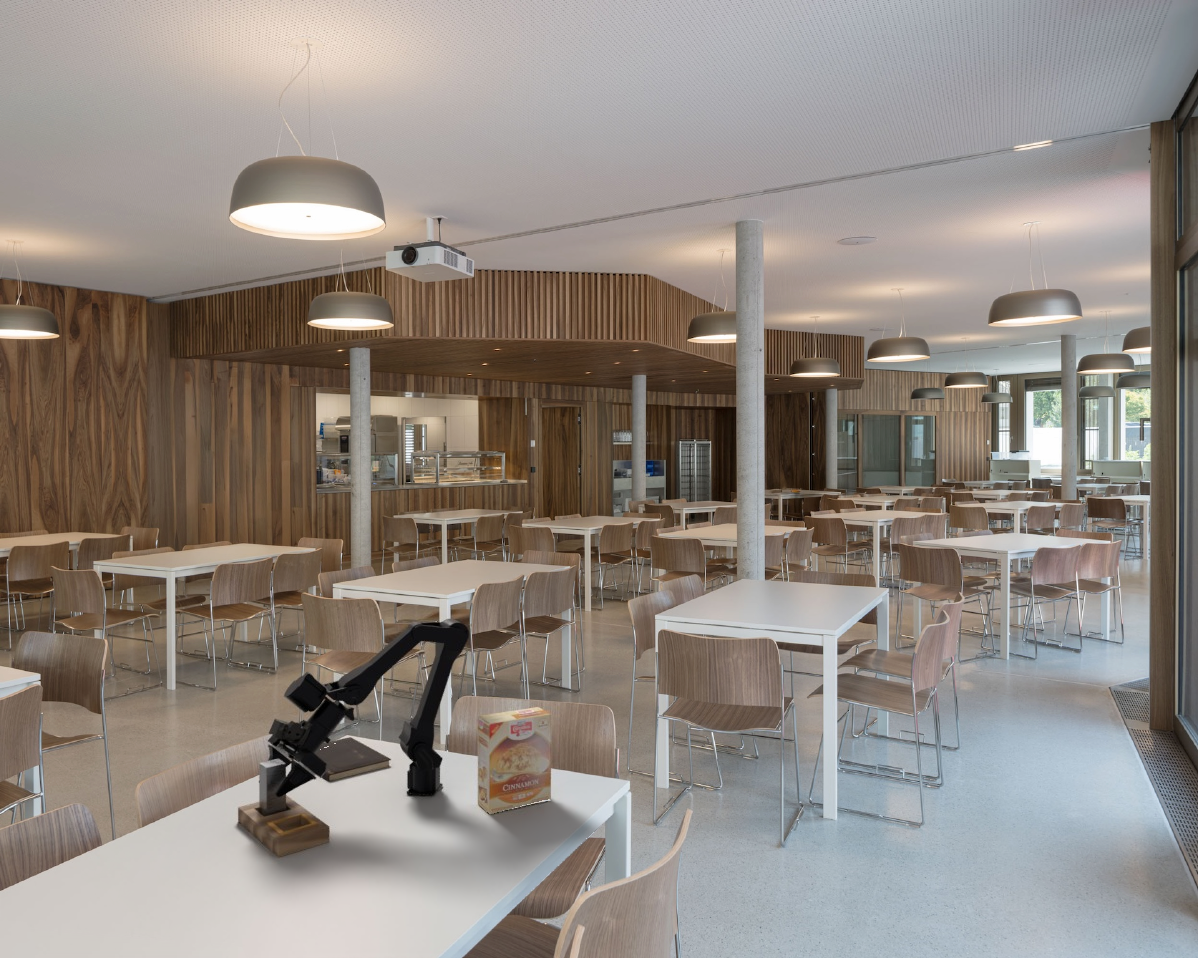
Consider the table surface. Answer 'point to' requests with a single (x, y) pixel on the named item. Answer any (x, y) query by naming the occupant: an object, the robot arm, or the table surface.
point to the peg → (271, 787)
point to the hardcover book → (349, 758)
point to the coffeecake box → (514, 759)
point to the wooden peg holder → (284, 828)
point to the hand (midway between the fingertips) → (268, 789)
